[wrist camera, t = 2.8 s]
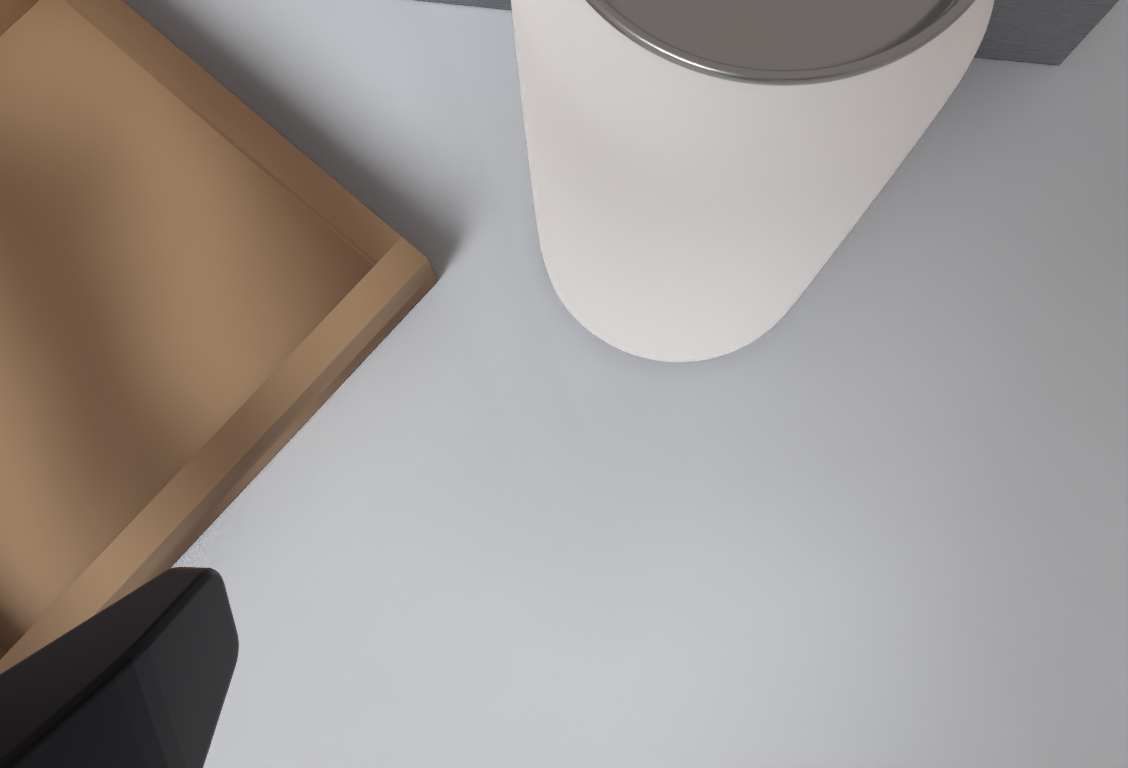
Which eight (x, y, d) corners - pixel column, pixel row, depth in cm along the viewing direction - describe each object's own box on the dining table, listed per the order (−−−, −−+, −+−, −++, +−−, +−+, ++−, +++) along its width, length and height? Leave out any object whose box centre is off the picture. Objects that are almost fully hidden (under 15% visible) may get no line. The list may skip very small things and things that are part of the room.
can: (528, 122, 23) (477, -347, 12) (791, 99, 23) (1005, -392, 12) (550, 379, 22) (517, 141, 10) (829, 355, 22) (1114, 89, 10)
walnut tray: (31, 716, 21) (-11, 725, 19) (-338, 336, 23) (-402, 318, 21) (438, 280, 23) (428, 258, 21) (65, -36, 24) (33, -76, 23)
